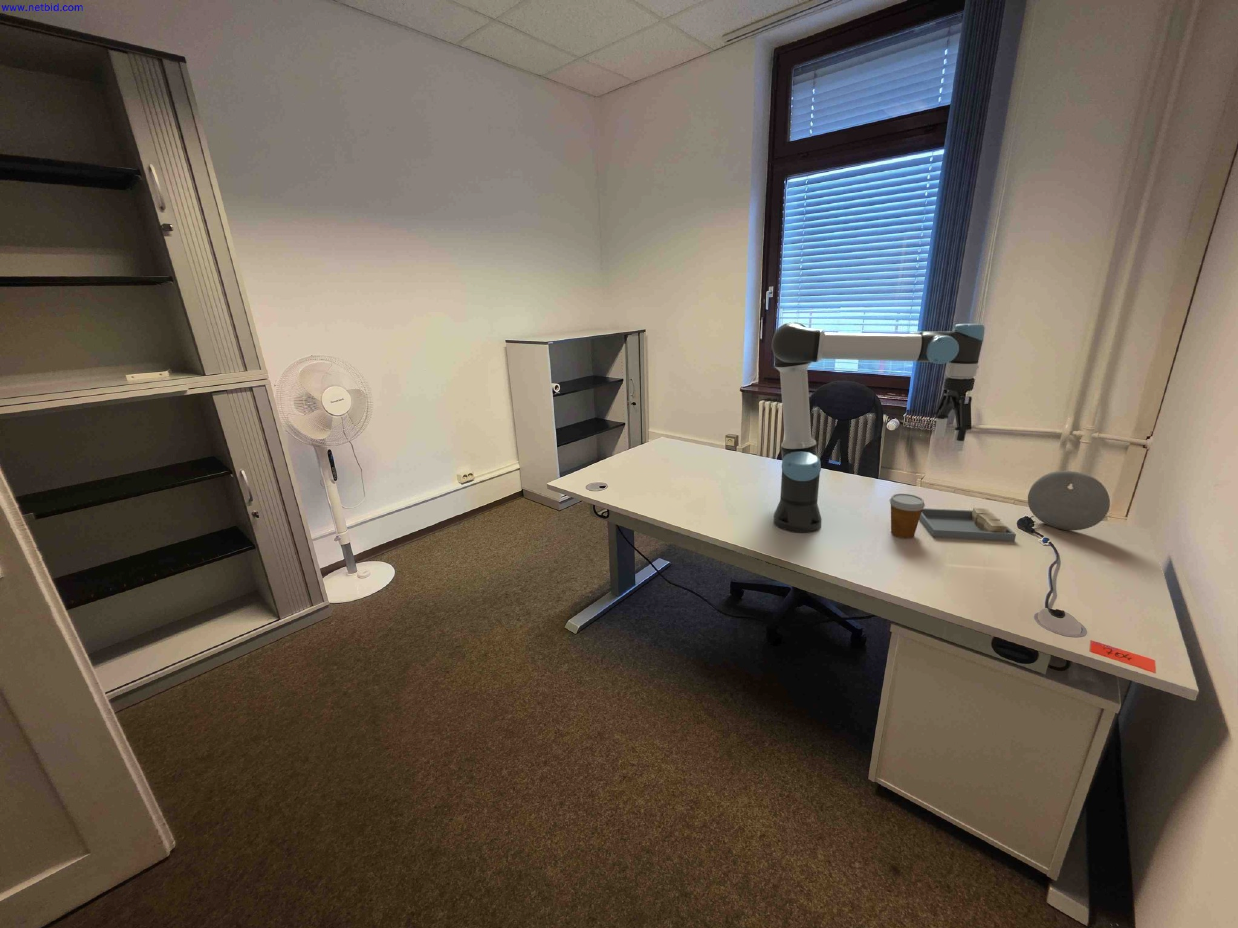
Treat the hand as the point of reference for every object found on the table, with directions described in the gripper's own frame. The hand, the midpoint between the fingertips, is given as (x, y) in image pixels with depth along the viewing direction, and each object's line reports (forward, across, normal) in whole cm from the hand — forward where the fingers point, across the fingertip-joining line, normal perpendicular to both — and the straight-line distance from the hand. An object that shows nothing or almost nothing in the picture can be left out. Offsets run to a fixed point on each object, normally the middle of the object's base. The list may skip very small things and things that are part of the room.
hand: (947, 444), depth 154 cm
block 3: (+25, -12, -12) cm, 30 cm away
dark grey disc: (+26, -4, -34) cm, 43 cm away
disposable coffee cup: (+26, -13, +13) cm, 32 cm away
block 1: (+25, -3, -12) cm, 28 cm away
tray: (+26, -7, -5) cm, 27 cm away
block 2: (+25, -8, -12) cm, 29 cm away
